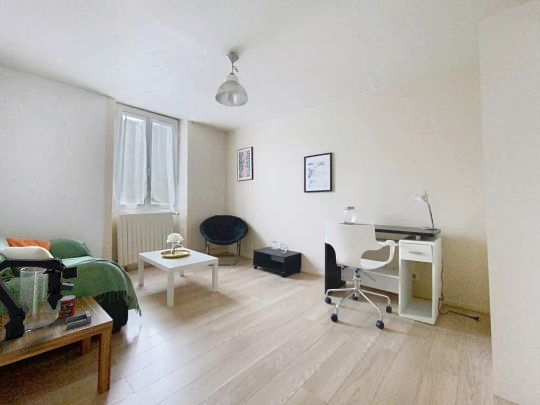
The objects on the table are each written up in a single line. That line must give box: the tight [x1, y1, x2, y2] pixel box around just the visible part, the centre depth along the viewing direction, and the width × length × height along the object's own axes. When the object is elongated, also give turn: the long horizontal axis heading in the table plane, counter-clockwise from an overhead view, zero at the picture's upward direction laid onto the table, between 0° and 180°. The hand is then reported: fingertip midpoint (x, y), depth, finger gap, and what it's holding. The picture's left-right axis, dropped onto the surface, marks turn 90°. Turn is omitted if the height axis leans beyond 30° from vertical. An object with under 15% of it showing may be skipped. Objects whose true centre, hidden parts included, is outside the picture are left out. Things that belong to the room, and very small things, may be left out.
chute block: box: [47, 300, 60, 314], centre depth 134 cm, size 5×5×7 cm
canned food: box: [58, 294, 76, 319], centre depth 149 cm, size 8×8×11 cm
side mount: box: [65, 309, 92, 330], centre depth 140 cm, size 11×10×4 cm
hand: (54, 308), depth 134 cm, fingers closed on chute block, 5 cm apart
